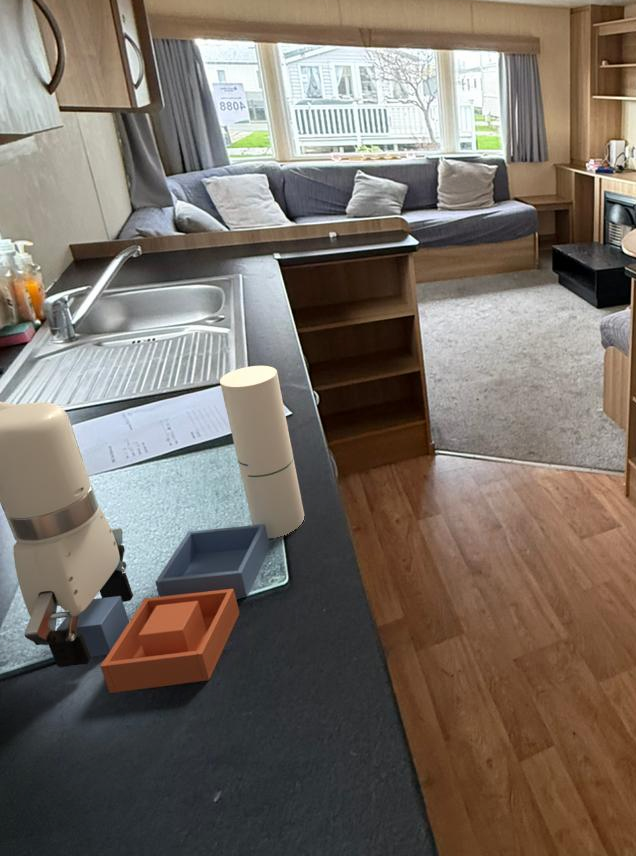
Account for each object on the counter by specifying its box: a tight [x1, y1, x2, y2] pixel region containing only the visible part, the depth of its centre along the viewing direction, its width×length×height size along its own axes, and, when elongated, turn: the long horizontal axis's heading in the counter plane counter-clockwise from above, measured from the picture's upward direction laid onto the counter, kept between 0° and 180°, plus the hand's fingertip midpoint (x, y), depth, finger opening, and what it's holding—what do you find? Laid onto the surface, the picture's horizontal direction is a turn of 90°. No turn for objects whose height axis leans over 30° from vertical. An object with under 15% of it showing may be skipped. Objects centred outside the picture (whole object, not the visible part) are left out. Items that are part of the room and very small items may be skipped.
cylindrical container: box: [219, 365, 305, 539], centre depth 95 cm, size 7×7×25 cm
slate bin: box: [155, 524, 271, 599], centre depth 89 cm, size 10×10×4 cm
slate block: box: [56, 596, 130, 658], centre depth 78 cm, size 5×5×5 cm
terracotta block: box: [139, 601, 206, 657], centre depth 76 cm, size 5×5×5 cm
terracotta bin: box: [99, 589, 240, 694], centre depth 77 cm, size 10×10×4 cm
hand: (98, 630), depth 78 cm, fingers open, 9 cm apart
